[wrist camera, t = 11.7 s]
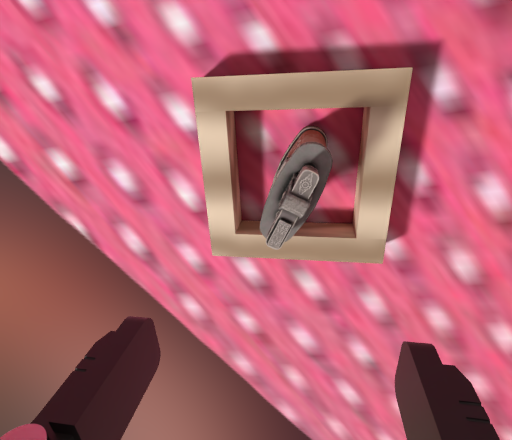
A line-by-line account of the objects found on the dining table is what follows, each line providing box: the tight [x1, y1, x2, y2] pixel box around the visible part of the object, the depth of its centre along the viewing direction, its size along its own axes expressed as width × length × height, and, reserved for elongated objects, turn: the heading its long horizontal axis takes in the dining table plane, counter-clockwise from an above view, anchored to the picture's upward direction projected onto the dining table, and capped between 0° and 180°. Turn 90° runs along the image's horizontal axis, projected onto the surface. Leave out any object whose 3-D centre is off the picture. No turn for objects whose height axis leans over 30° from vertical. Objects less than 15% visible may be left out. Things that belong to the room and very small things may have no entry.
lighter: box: [260, 126, 332, 250], centre depth 24 cm, size 8×3×10 cm, turn 157°
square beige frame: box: [191, 67, 413, 264], centre depth 27 cm, size 16×16×3 cm
